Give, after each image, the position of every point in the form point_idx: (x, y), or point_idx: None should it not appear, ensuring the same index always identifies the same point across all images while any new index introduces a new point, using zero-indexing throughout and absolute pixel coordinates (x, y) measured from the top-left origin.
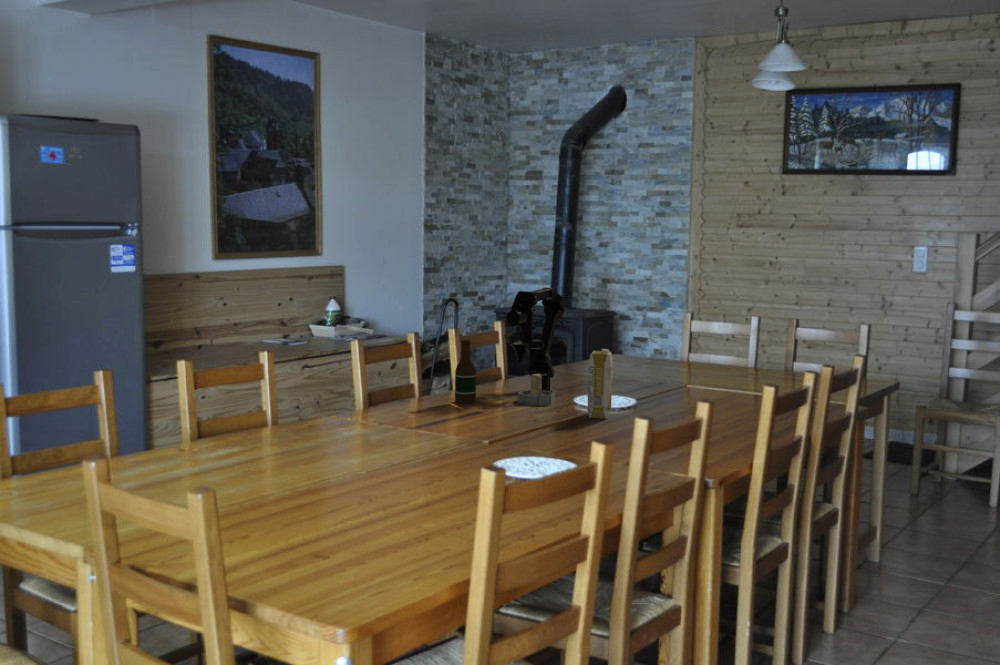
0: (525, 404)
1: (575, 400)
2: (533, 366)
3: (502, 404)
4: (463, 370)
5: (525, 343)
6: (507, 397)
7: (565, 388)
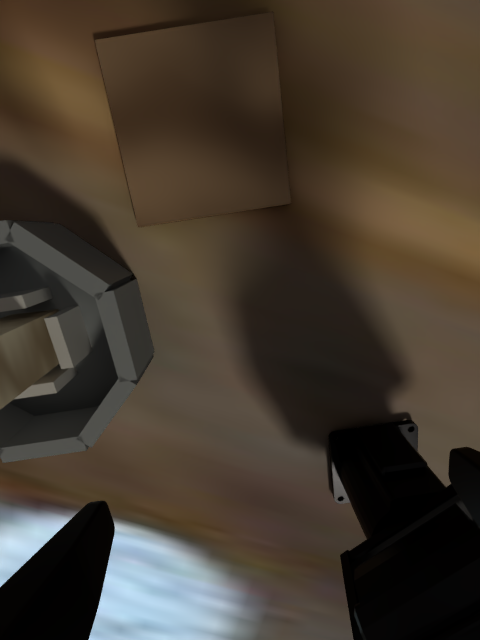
0: None
1: None
2: (449, 560)
3: (28, 104)
4: None
5: None
6: (211, 207)
7: None
